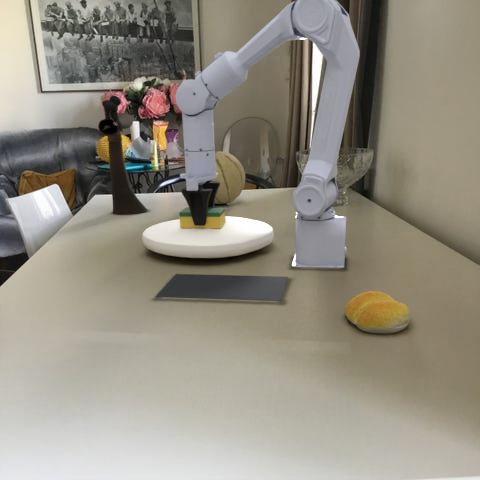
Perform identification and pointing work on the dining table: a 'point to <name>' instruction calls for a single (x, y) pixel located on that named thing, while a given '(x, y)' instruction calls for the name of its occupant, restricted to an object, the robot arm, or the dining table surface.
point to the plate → (208, 238)
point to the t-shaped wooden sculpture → (118, 158)
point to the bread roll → (377, 313)
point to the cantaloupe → (228, 177)
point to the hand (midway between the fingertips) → (203, 221)
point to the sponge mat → (225, 287)
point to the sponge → (213, 219)
